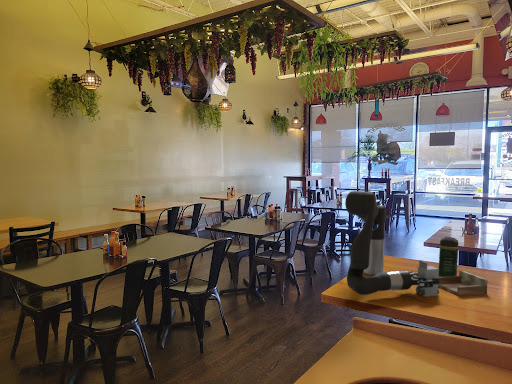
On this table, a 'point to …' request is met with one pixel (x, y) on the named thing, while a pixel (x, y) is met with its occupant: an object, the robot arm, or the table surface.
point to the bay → (464, 284)
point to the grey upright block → (428, 273)
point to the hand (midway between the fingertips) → (431, 278)
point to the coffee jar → (448, 257)
